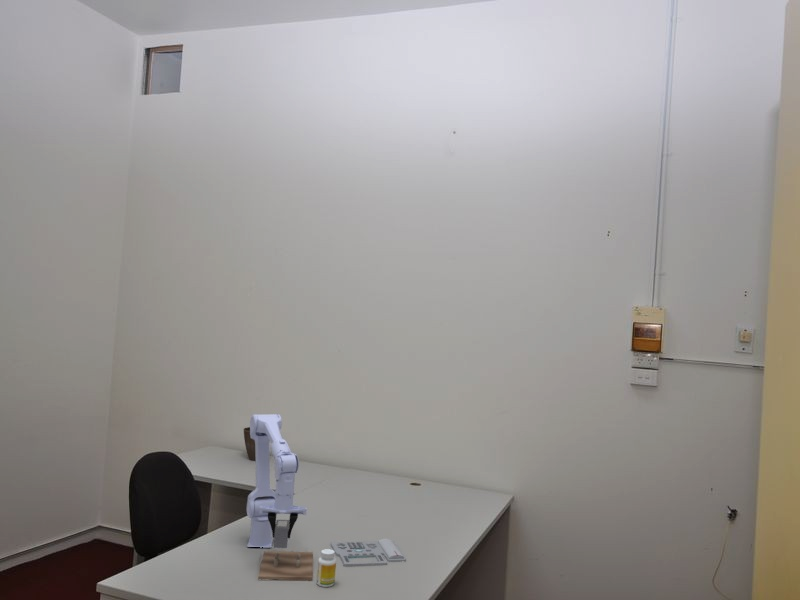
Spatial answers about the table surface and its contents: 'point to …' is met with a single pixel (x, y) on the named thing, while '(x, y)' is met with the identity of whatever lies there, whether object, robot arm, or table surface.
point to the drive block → (281, 534)
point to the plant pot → (249, 444)
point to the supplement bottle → (326, 568)
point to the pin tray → (286, 565)
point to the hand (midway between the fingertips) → (281, 536)
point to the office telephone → (368, 552)
